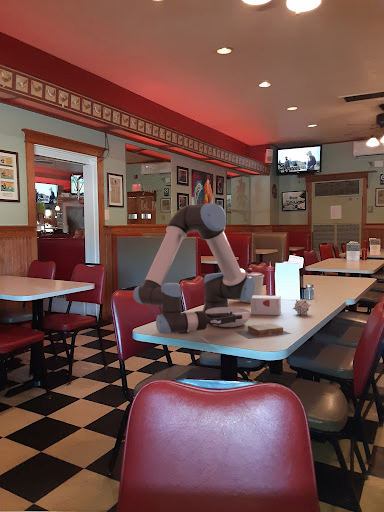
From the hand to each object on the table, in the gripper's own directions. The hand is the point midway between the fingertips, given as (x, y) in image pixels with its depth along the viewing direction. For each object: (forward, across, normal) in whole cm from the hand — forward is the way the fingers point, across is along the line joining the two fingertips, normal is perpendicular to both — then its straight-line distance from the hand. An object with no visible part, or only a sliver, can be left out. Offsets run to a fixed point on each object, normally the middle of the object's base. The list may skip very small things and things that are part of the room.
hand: (247, 315), depth 171 cm
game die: (+46, -26, -9) cm, 53 cm away
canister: (+41, -73, -9) cm, 84 cm away
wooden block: (+3, 0, -7) cm, 7 cm away
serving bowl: (0, -20, -9) cm, 22 cm away
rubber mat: (+7, 0, -8) cm, 11 cm away
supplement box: (+25, -42, -4) cm, 48 cm away
